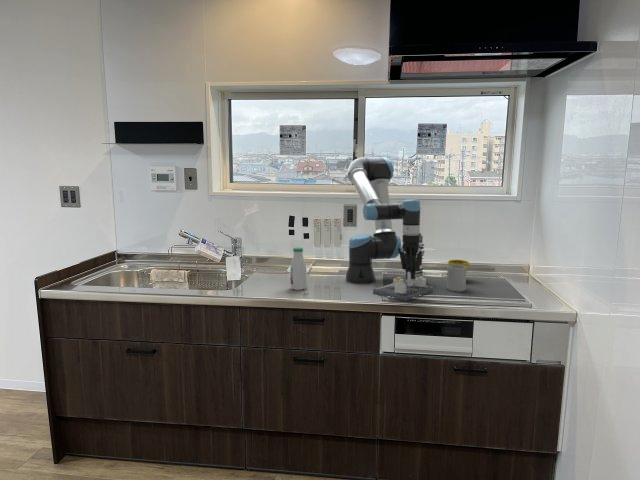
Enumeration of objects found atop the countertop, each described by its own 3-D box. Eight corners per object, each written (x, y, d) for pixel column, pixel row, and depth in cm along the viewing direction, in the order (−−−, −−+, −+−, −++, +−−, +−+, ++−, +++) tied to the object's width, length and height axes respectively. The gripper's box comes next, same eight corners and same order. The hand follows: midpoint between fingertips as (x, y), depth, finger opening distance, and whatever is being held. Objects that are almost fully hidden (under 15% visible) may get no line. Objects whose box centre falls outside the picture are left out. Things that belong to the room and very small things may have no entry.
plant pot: (466, 283, 220) (466, 264, 219) (445, 281, 225) (445, 262, 224) (470, 279, 229) (471, 260, 228) (450, 277, 234) (450, 258, 233)
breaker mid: (393, 286, 208) (393, 277, 207) (396, 285, 210) (396, 276, 209) (400, 287, 205) (400, 278, 204) (403, 286, 207) (404, 277, 206)
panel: (373, 293, 205) (373, 288, 204) (400, 284, 220) (401, 280, 219) (405, 301, 192) (405, 295, 192) (433, 291, 207) (433, 286, 207)
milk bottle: (309, 287, 217) (308, 247, 214) (302, 291, 210) (301, 249, 207) (295, 286, 220) (294, 246, 217) (288, 289, 213) (287, 248, 211)
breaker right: (414, 285, 209) (415, 276, 208) (418, 284, 211) (418, 275, 210) (422, 287, 206) (422, 278, 205) (425, 285, 208) (426, 276, 207)
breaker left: (394, 292, 198) (394, 282, 197) (398, 291, 200) (398, 281, 199) (402, 293, 195) (402, 284, 194) (406, 292, 197) (406, 283, 196)
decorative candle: (423, 283, 221) (424, 234, 217) (404, 283, 222) (405, 233, 219) (423, 279, 230) (424, 231, 226) (404, 279, 231) (405, 231, 228)
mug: (466, 291, 205) (467, 268, 204) (447, 291, 207) (448, 268, 205) (463, 285, 217) (464, 263, 215) (445, 284, 219) (446, 262, 217)
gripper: (394, 233, 201) (393, 284, 204) (418, 236, 192) (417, 289, 195) (403, 232, 206) (403, 281, 210) (428, 234, 197) (427, 286, 200)
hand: (410, 285), depth 202 cm, fingers closed
